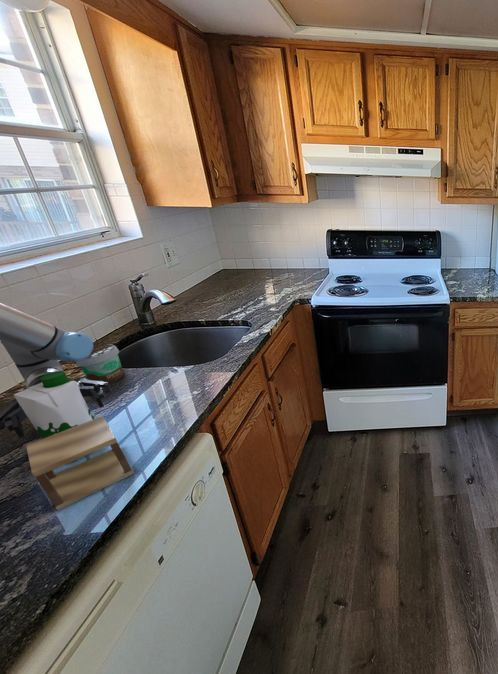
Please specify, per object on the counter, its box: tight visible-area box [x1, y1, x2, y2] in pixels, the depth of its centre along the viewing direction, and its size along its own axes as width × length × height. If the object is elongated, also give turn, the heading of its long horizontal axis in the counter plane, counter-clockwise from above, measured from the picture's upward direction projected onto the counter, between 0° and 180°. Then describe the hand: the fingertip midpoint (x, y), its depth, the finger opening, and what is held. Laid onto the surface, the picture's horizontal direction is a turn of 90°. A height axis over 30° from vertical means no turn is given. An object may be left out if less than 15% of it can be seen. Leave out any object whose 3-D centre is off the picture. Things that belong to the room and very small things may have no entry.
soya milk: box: [13, 370, 95, 463], centre depth 86 cm, size 9×9×20 cm
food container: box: [75, 343, 125, 384], centre depth 119 cm, size 12×6×10 cm, turn 0°
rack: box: [25, 415, 135, 511], centre depth 79 cm, size 12×12×10 cm
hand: (61, 416), depth 84 cm, fingers open, 13 cm apart
